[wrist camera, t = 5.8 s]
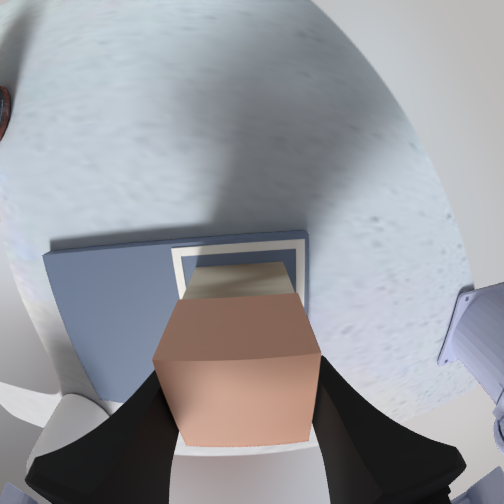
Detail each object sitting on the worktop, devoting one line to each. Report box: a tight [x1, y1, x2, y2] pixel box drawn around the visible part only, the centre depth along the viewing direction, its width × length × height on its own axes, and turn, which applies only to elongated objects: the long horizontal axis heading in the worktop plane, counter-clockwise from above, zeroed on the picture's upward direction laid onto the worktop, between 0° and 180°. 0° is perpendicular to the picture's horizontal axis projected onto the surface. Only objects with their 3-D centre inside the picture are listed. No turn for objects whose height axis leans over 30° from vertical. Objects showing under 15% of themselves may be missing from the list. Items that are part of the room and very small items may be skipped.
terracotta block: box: [152, 293, 321, 447], centre depth 10 cm, size 5×5×4 cm
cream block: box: [182, 261, 295, 299], centre depth 14 cm, size 5×5×4 cm
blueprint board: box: [42, 230, 309, 403], centre depth 18 cm, size 18×14×1 cm
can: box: [25, 393, 110, 478], centre depth 16 cm, size 6×6×12 cm
